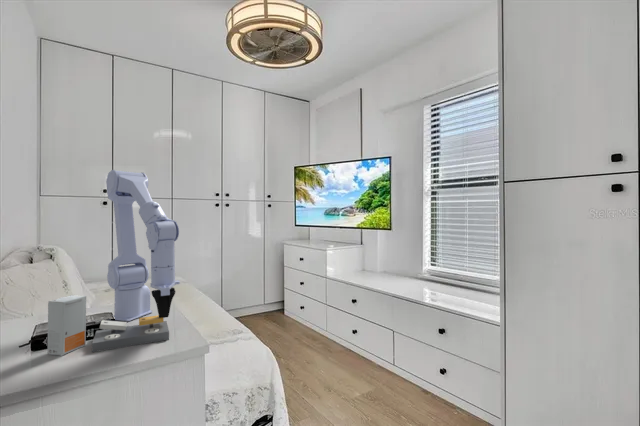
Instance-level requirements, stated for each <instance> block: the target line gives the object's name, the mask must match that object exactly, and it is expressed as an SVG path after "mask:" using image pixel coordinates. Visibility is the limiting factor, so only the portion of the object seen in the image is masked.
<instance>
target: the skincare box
mask: <svg viewBox="0 0 640 426" xmlns="http://www.w3.org/2000/svg"><path fill="white" fill-rule="evenodd" d="M47 303H48V304H47V355H53V356H65V355H66V354H69V353H71V352H74V351H76V350H79V349H81V348H83V346H84V347H86V339H87V338H86V337H87V336H86V335H87V334H86V330H87V296H86V295H77V294H76V295H75V294H71V295H68V296H61V297H59V298H56V299H52V300H48V302H47Z"/></svg>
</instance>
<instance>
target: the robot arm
mask: <svg viewBox="0 0 640 426" xmlns="http://www.w3.org/2000/svg"><path fill="white" fill-rule="evenodd" d="M106 177H107V178H106V180H105V182H106V193H107V194H106V195H107V198H108V200H110V201H112V202H113V203H112V204H113V208H114V209H113V211H114V212H113V213H114V224H115V232H116V235H115V236H116V244H117V256H116V257H114V259H112V260H111V261H110V262H109V263H108V266H107V267H108V268H107V274H106V275H107V276H106V278H107V283H108V286H109V287H110V288H111V289H113V290H114V314H113V315H114V317H115V320H114V321H118V322H130V321H133V320H136V319H139V318H142V317H143V316H144V317H145V316H147V315H149V314H152V313H153V310H151V295H152V298H153V299H154V301H155V304H156V308H157V313H158V314H157V315H159V318H163V319H165V318H168V317H169V316H170V311H171V305H172V301H173V299H174V297H175V295H176V290H175V287H174V286H176V285H179V284H181V281H180V280H178V279H177V280H176V264H175V263H176V260H175V252H176V251H175V250H176V249H175V248H176V247H175V242H176V241H177V240H178V238H179V236H180V235H179V234H180V229H179V225H178V223H177V221H176V220H174V219H171V218H169V217H168V216H167V215H166V213H165V211H164V210H163V208H162V206H161V205H160V203H159V202H156V201H154V200H153V199H152V196H151V194H150V191H149V189H148V188H149V178H148V176H147V174H146V173H145V172H136V171H124V170H117V169H116V170H115V169H111V170H110V171H109V172H108V173H107V176H106ZM134 202H136V203H137V205H138V206H139V208H138V215H139V216H140V218H141V220H142V221H143V223H144V226H145V228H146V232H145V236H146V240H147V242H148V250H150V271H149V268H148V265H147V260H146V258H143V256H140V255H139V254H138V252H137V241H136V232H135V221H134V220H135V219H134V218H135V217H134V210H133V205H134ZM150 276H151V277H150ZM149 277H150V279H151V280H150V285H149V286H150V288H152V289H153V290H151V289H150V288H149V286H148V285H146V283H147V282H148V280H149Z"/></svg>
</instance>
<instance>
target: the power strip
mask: <svg viewBox="0 0 640 426" xmlns="http://www.w3.org/2000/svg"><path fill="white" fill-rule="evenodd" d="M168 340H169V341H170V329H169V325H168V321H167V320H165V321H164V320H163V322H161V323H154V324H148V325H141V326H139V324H136V325H135V324H134V325H127V326H126V330H114V329H100V330H96V331H95V334H94V337H93V340H92V342H91V353H95V352H101V351H108V350H113V349H119V348H125V347H131V346H137V345H144V344H149V343H156V342H162V341H168Z"/></svg>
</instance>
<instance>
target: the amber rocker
mask: <svg viewBox="0 0 640 426" xmlns="http://www.w3.org/2000/svg"><path fill="white" fill-rule="evenodd" d="M163 321H164V318H159V314H157V315H151V316H144V317H143V316H142V317H139V318H138V325H139V326H141V325H148V324H154V323H161V322H163Z"/></svg>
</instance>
